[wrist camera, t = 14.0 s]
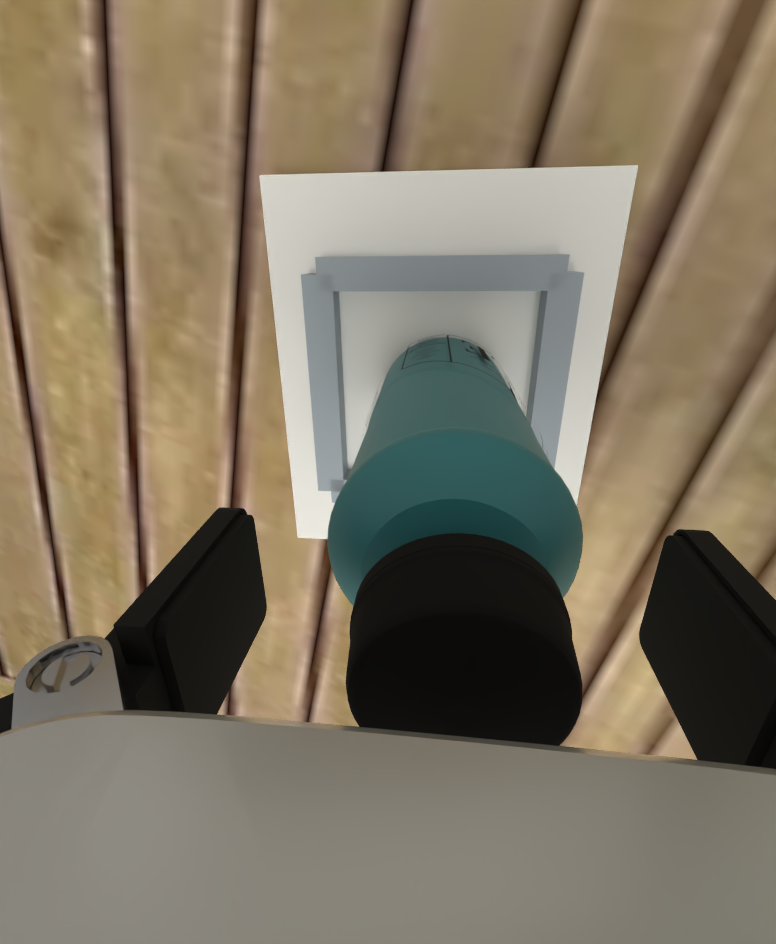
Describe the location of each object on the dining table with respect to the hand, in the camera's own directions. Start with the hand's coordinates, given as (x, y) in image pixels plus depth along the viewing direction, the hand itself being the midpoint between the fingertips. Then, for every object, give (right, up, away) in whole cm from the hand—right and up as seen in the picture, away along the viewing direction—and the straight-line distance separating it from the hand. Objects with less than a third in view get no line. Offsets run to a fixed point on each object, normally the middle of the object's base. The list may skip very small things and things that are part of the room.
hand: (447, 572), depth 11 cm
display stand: (+1, +8, +17) cm, 19 cm away
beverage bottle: (+2, +7, +15) cm, 16 cm away
